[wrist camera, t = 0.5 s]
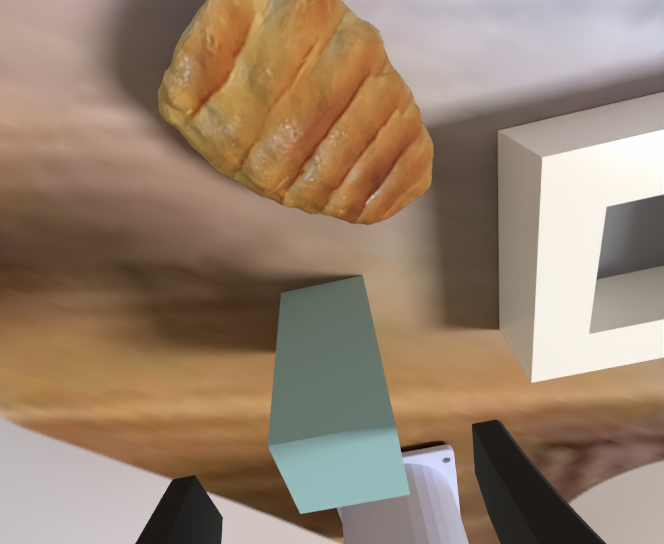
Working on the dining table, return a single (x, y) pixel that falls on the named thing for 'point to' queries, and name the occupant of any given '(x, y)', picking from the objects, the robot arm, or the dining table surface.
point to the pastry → (299, 107)
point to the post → (332, 401)
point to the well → (583, 238)
